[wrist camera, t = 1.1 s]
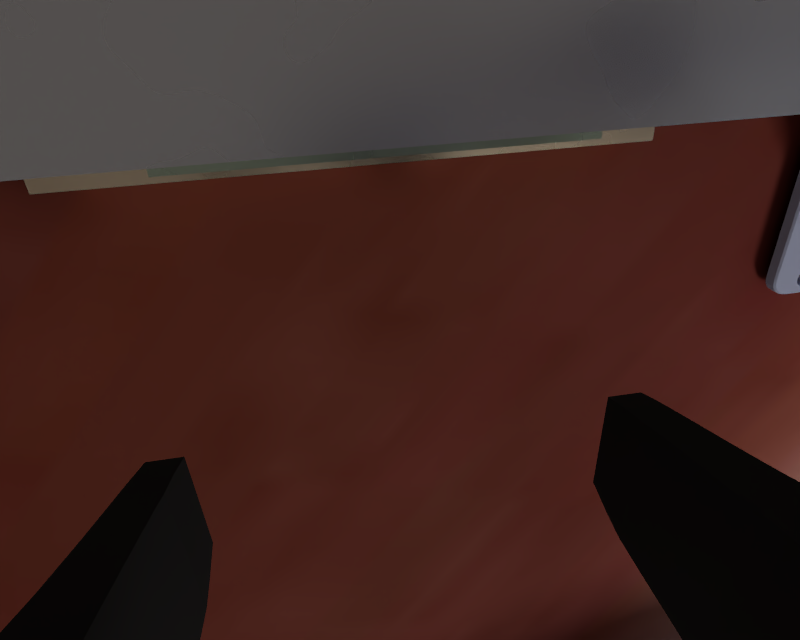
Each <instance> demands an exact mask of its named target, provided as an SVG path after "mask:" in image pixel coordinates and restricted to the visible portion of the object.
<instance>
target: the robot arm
mask: <svg viewBox="0 0 800 640" xmlns="http://www.w3.org/2000/svg"><path fill="white" fill-rule="evenodd" d="M799 275H800V171H799V174H798V177H797V180H796V183H795V187H794V190H793V193H792V196H791V199H790V203H789V206H788V209H787V212H786V215H785V219H784V222H783V225H782V228H781V231H780V235H779V238H778V241H777V244H776V247H775V251H774V254H773V257H772V260H771V263H770V267H769V270H768V273H767V276H766V285H767V287H768V288H770V289H771V290H773V291H775V292H777V293H778V294H789V293H797V292H800V277H799ZM593 483H594V485H595V487H596V489H597V492H598V494H599V496H600V498H601V501H602V503H603V505H604V507H605V510H606V512H607V514H608V516H609V518H610V520H611V522H612V524H613V526H614V528H615V530H616V532H617V534H618V536H619V538H620V540H621V541H622V543H623V545H624V546H625V548H626V550H627V551H628V553H629V555H630V556H631V558H632V560H633V561H634V563H635V564H636V566H637V568H638V569H639V571H640V573H641V574H642V576H643V577H644V579H645V581H646V582H647V584H648V585H649V587H650V589H651V590H652V592H653V593H654V595H655V597H656V598H657V600H658V601H659V603H660V605H661V606H662V608H663V609H664V611H665V613H666V614H667V616H668V617H669V619H670V621H671V622H672V624H673V625H674V627H675V628H676V630H677V632H678V633H679V635H680V636H681V638H682V640H800V482H798V481H796V480H795V479H793V478H791V477H789V476H787V475H785V474H784V473H782V472H780V471H778V470H776V469H775V468H773V467H771V466H769V465H767V464H766V463H764V462H762V461H760V460H759V459H757V458H755V457H753V456H752V455H750V454H748V453H746V452H745V451H743V450H741V449H739V448H738V447H736V446H734V445H732V444H731V443H729V442H727V441H726V440H724V439H722V438H720V437H719V436H717V435H715V434H714V433H712V432H710V431H708V430H707V429H705V428H703V427H702V426H700V425H698V424H696V423H695V422H693V421H691V420H690V419H688V418H686V417H684V416H683V415H681V414H679V413H678V412H676V411H674V410H672V409H671V408H669V407H667V406H665V405H664V404H662V403H660V402H658V401H656V400H654V399H653V398H651V397H649V396H647V395H645V394H643V393H634V394H627V395H620V396H613V397H608V401H607V407H606V412H605V418H604V424H603V429H602V435H601V441H600V447H599V452H598V458H597V464H596V469H595V475H594V481H593ZM212 546H213V542H212V539H211V536H210V533H209V530H208V527H207V524H206V521H205V518H204V515H203V512H202V509H201V506H200V503H199V500H198V497H197V494H196V491H195V488H194V485H193V482H192V479H191V476H190V473H189V470H188V467H187V464H186V461H185V458H184V457H180V458H173V459H166V460H159V461H152V462H145V463H144V464H143V465H142V467H141V468H140V469H139V470H138V471H137V473H136V474H135V475H134V476H133V477H132V478H131V480H130V481H129V482H128V483H127V484H126V486H125V487H124V488H123V489H122V490H121V492H120V493H119V494H118V495H117V497H116V498H115V499H114V500H113V502H112V503H111V504H110V505H109V506H108V508H107V509H106V510H105V511H104V513H103V514H102V515H101V516H100V517H99V519H98V520H97V521H96V522H95V524H94V525H93V526H92V527H91V528H90V530H89V531H88V532H87V533H86V535H85V536H84V537H83V538H82V539H81V541H80V542H79V543H78V544H77V545H76V547H75V548H74V549H73V550H72V551H71V552H70V554H69V555H68V556H67V557H66V558H65V560H64V561H63V562H62V563H61V564H60V565H59V567H58V568H57V569H56V570H55V571H54V573H53V574H52V575H51V576H50V577H49V578H48V580H47V581H46V582H45V583H44V584H43V586H42V587H41V588H40V589H39V590H38V591H37V593H36V594H35V595H34V596H33V597H32V598H31V599H30V601H29V602H28V603H27V604H26V605H25V606H24V607H23V608H22V609H21V610H20V612H19V613H18V614H17V615H16V616H15V617H14V618H13V619H12V620H11V621H10V623H9V624H8V625H7V626H6V627H5V628H4V629H3V630H2V631H1V632H0V640H200V637H201V632H202V628H203V623H204V618H205V613H206V608H207V600H208V590H209V581H210V570H211V558H212Z"/></svg>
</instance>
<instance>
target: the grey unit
mask: <svg viewBox="0 0 800 640" xmlns="http://www.w3.org/2000/svg"><path fill="white" fill-rule="evenodd" d="M799 114H800V0H0V181H10V180H22V179H24V182H25V184H26V187H27V189H28V192H29V194H39V193H51V192H63V191H74V190H86V189H97V188H109V187H120V186H132V185H143V184H155V183H166V182H178V181H190V180H201V179H213V178H224V177H236V176H247V175H259V174H270V173H282V172H293V171H305V170H316V169H328V168H340V167H351V166H363V165H374V164H386V163H397V162H409V161H420V160H432V159H443V158H455V157H467V156H478V155H490V154H501V153H513V152H524V151H536V150H547V149H559V148H570V147H582V146H594V145H605V144H617V143H628V142H640V141H651V140H653V135H654V129H655V127H656V126H668V125H679V124H691V123H703V122H715V121H727V120H739V119H751V118H763V117H775V116H787V115H799Z"/></svg>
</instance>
